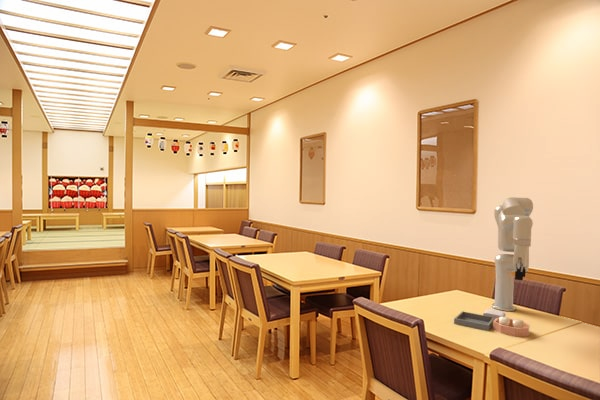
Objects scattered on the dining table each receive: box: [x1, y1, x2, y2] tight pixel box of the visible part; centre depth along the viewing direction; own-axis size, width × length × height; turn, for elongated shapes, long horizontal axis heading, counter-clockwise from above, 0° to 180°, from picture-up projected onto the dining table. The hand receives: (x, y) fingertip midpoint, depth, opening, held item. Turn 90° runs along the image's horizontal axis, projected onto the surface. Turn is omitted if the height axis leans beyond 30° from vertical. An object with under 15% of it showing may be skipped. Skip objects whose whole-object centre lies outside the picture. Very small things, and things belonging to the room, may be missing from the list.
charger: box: [482, 308, 506, 318], centre depth 213 cm, size 5×9×15 cm
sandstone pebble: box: [512, 318, 524, 328], centre depth 193 cm, size 5×5×5 cm
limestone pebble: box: [499, 316, 511, 326], centre depth 196 cm, size 5×5×5 cm
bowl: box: [492, 318, 530, 337], centre depth 195 cm, size 15×15×4 cm
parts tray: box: [453, 310, 495, 332], centre depth 204 cm, size 16×16×3 cm
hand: (520, 278), depth 192 cm, fingers open, 9 cm apart
